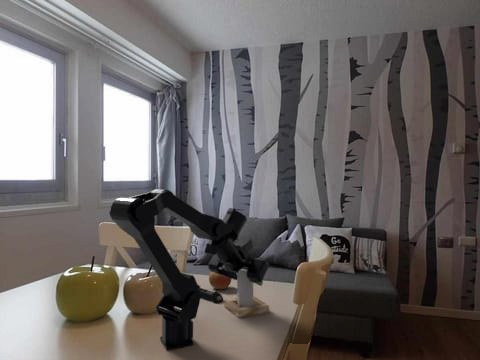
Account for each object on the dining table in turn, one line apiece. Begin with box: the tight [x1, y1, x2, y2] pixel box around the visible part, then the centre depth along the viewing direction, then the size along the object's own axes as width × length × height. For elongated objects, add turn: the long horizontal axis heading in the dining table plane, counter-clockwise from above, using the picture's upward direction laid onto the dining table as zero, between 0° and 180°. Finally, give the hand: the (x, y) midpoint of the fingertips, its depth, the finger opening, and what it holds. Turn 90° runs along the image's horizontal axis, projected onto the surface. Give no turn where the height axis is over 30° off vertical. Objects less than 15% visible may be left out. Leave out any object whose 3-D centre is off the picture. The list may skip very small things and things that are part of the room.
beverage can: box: [236, 269, 254, 308], centre depth 108 cm, size 5×5×12 cm
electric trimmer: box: [199, 287, 224, 304], centre depth 119 cm, size 4×16×3 cm, turn 50°
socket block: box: [223, 295, 270, 319], centre depth 108 cm, size 10×10×2 cm
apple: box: [208, 271, 232, 290], centre depth 128 cm, size 8×8×8 cm
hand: (249, 281), depth 109 cm, fingers open, 9 cm apart
